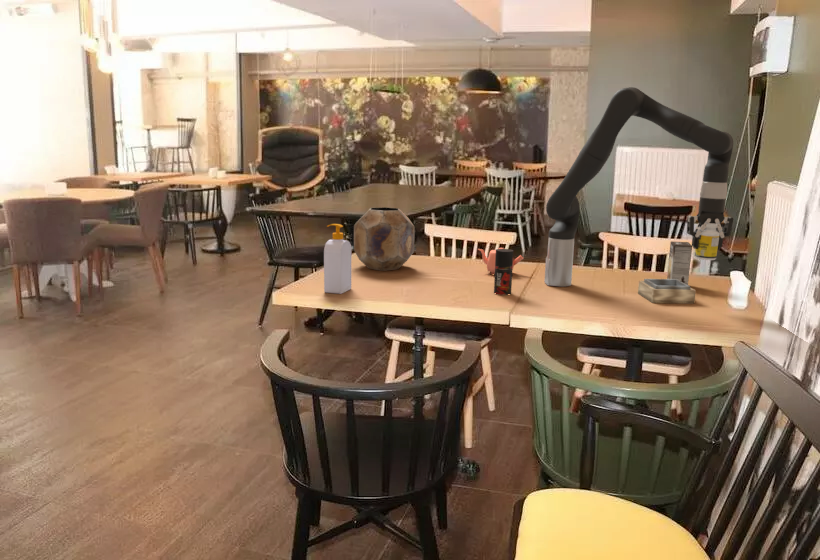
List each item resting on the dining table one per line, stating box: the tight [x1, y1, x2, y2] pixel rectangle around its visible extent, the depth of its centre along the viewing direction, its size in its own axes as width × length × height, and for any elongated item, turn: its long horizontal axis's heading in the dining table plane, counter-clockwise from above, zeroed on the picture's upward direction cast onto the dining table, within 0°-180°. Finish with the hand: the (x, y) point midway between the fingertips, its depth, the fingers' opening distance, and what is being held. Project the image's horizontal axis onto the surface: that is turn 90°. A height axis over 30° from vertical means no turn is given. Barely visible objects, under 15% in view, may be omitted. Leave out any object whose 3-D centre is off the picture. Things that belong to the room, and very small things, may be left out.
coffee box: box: [666, 241, 693, 285], centre depth 250 cm, size 9×6×16 cm
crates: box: [637, 278, 697, 305], centre depth 231 cm, size 14×14×6 cm
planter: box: [353, 206, 416, 272], centre depth 273 cm, size 22×24×24 cm
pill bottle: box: [694, 223, 719, 261], centre depth 216 cm, size 6×6×12 cm
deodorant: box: [493, 248, 514, 296], centre depth 233 cm, size 6×6×15 cm
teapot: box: [477, 247, 524, 275], centre depth 268 cm, size 14×12×10 cm
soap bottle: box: [323, 223, 352, 295], centre depth 231 cm, size 9×7×23 cm
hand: (706, 248), depth 217 cm, fingers closed on pill bottle, 6 cm apart
